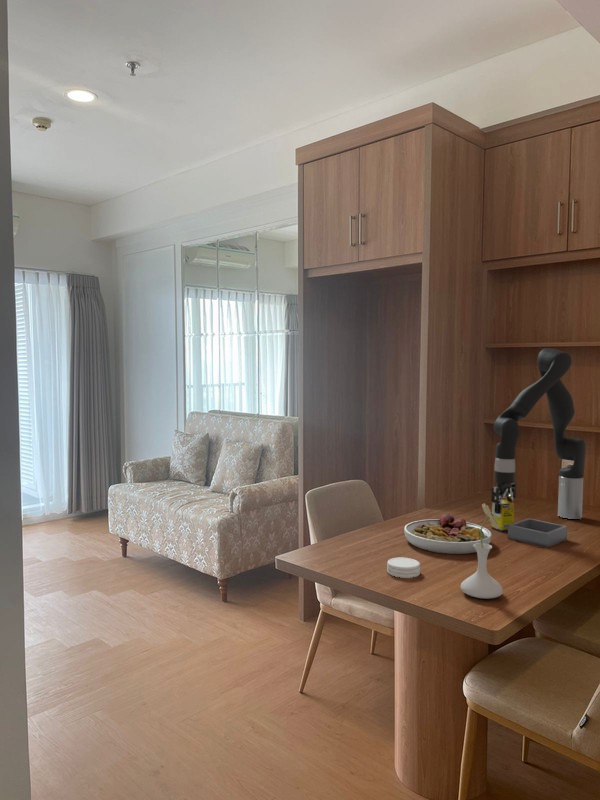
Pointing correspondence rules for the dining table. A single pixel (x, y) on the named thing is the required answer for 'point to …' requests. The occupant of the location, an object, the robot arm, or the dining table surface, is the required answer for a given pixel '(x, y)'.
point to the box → (537, 532)
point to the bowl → (446, 535)
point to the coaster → (403, 567)
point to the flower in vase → (482, 568)
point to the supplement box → (504, 515)
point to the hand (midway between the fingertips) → (503, 511)
